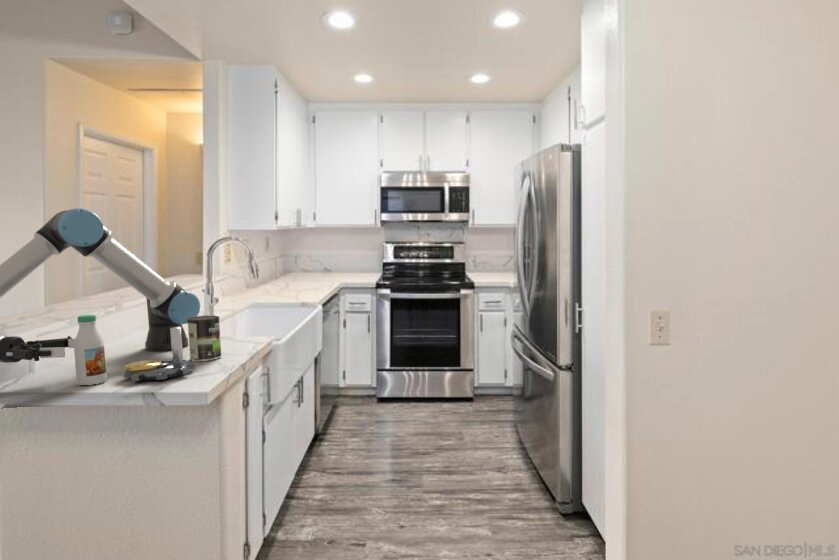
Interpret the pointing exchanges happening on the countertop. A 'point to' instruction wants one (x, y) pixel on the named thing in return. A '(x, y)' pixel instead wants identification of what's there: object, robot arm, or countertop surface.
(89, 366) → the milk bottle
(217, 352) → the coffee can
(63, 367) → the countertop surface
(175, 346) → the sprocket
